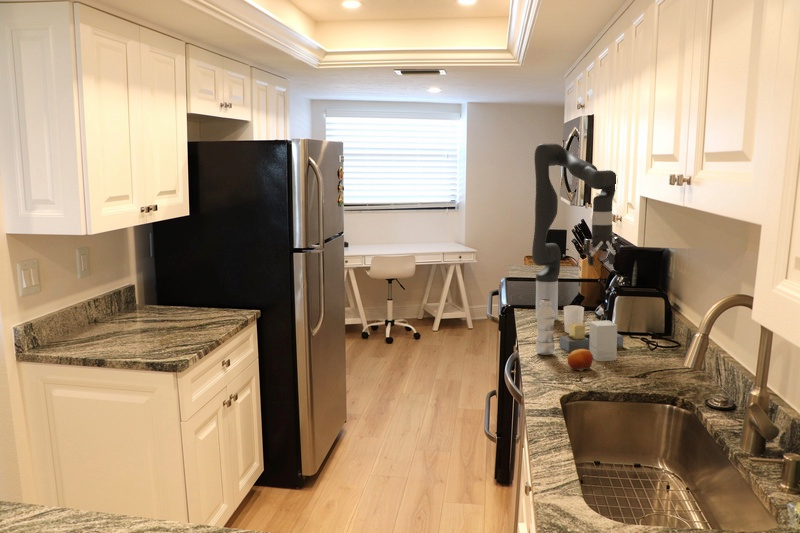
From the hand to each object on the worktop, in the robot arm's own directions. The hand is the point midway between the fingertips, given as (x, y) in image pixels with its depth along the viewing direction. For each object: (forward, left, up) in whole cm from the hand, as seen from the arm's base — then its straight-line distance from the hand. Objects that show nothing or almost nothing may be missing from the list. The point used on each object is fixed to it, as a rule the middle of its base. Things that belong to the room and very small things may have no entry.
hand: (601, 264), depth 247 cm
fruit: (+34, -27, -28) cm, 52 cm away
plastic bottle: (+16, -31, -28) cm, 45 cm away
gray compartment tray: (+13, -11, -28) cm, 33 cm away
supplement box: (+26, -14, -28) cm, 41 cm away
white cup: (-8, -7, -28) cm, 30 cm away
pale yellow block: (+13, -17, -27) cm, 34 cm away
